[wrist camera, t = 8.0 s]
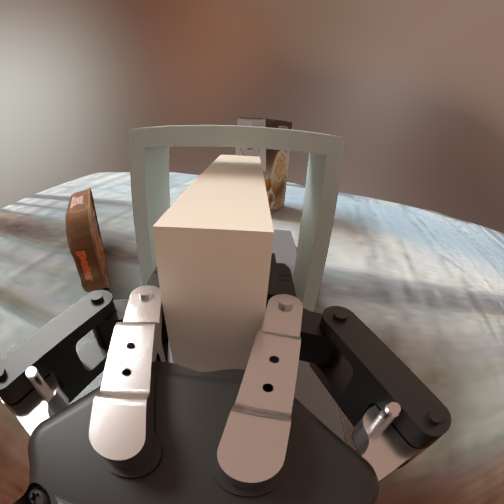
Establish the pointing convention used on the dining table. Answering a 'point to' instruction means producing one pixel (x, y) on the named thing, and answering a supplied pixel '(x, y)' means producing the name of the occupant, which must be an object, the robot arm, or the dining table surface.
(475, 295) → the dining table surface
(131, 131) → the tunnel
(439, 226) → the dining table surface
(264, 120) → the coffee box
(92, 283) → the tin
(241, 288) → the block
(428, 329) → the dining table surface
